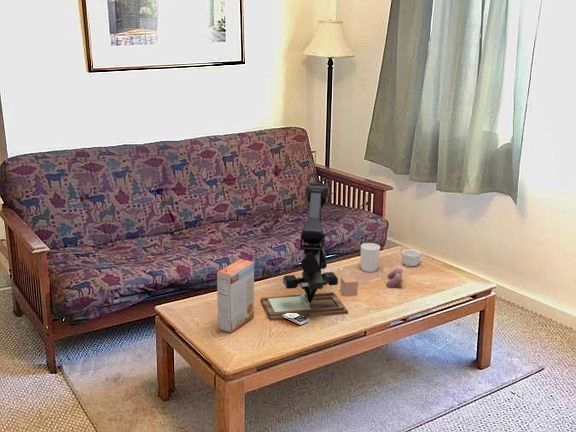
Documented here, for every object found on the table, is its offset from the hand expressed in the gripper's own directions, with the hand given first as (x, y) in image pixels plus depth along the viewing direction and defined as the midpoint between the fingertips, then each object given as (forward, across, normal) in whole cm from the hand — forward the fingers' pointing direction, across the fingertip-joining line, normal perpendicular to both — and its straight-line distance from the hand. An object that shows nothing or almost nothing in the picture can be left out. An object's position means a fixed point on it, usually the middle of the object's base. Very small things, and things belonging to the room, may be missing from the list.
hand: (309, 302), depth 244 cm
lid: (+1, -7, +1) cm, 7 cm away
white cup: (+2, +34, +31) cm, 46 cm away
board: (+2, -2, +1) cm, 3 cm away
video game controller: (+3, +39, +15) cm, 42 cm away
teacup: (+3, +54, +33) cm, 63 cm away
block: (+2, +18, +10) cm, 21 cm away
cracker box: (+2, -28, -7) cm, 29 cm away
